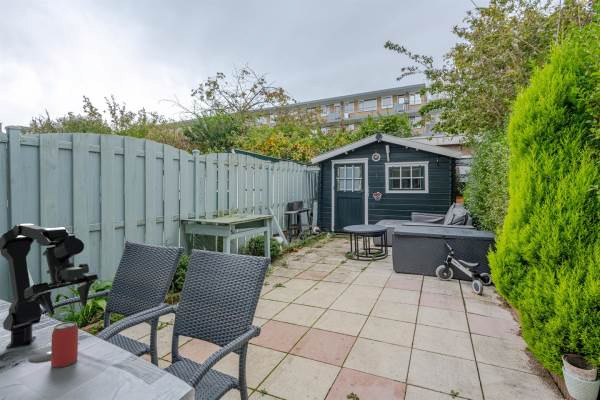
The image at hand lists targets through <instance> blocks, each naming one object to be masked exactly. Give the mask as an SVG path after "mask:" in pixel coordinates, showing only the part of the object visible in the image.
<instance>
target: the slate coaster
mask: <svg viewBox="0 0 600 400" xmlns="http://www.w3.org/2000/svg"><path fill="white" fill-rule="evenodd" d="M51 347H52V345H48V346H44V347H40V348H39V349H36V350H35V351H34V350H33V352H31V353H30V354H29V355H28V361H29V362H32V363H40V362H41V363H42V362H47V361H51Z"/></svg>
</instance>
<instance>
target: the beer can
mask: <svg viewBox="0 0 600 400" xmlns="http://www.w3.org/2000/svg"><path fill="white" fill-rule="evenodd" d="M52 330H53V331H52V332H51V346H52V347H51V360H50V366H52V368H63V367H68V366H70V365H72V364H73V363H75V362H76V361H77V360H78V351H79V350H78V349H79V327H78V325H77V322H76V321H65V322H61V323H58V324H57V325H55V326H54V327H53V329H52Z"/></svg>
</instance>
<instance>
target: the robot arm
mask: <svg viewBox="0 0 600 400" xmlns="http://www.w3.org/2000/svg"><path fill="white" fill-rule="evenodd" d="M35 240H36V243H37V244H39V245H40V246H41V247H46V248H45V250H44V251H43V253H42V256H44V257H45V258H46V262H47V266H48V267H47V269H48V270H46V274H47V275H49V277H50V282H49V283H48V282H47V281H46V282H42V283H37V284H33V285H31V283H30V282H31V281H30V275H29V268H28V263H27V256H29V255H28V254H29V253H30V252H31V250H32V244H33V243H34V241H35ZM84 249H85V243H84V242H83V241H82V240H81V238H78V237H76V235H75V234H71V233H70V232H69V231H68V230H67V228H65V227H52V228H51V227H49V228H48V227H44V226H40V225H36V224H34V223H18V224H15V225H14V226H13V228H12V229H10V230H8V231H6V232H5V233H3V234H1V237H0V254H1V256H2V257H3V258H4V259H6V261H8V269H9V277H10V283H11V290H12V296H13V301H12V303H11V304H10V306H9V308H8V314H7V316H6V317H5V319H4V321H3V322H2V326H3V327H2V328H3V329H4V330H5V331H9V332H10V342H9V343H8V344H7V345H6V346H5V348H6V349H11V348H19V347H23V346H29V345H31V344H32V343H33V342H34V340H35V339H37V336H36V335H35V336H33V325H35V324H39V323H40V322H41V317H42V313H43V310H42V307H43V308H44V309H45V310H44V311H46V312H47V313H48V314H49V315H50V316H54V315H55V309H54V305H53V301H52V291H53V290H58V289H61V288H62V289H63V288H67V287H71V286H74V285H77V286H78V287H76V290H77V292H78V296H79V299H80V303H81V305H82V307H86V306H87V303H88V296H89V292H90V289H91V287H92V285H93V284H95V283H96V281H99V276H98V274H97V273H95V272H91V273H89V272H90V268H89V264H88V263H87V262H86V263H81V264H78V266H75V264H74V263H73V262H71V261H70V260H71V259H73V258H74V257H75V256H78V255H79V254H81V253H82V252H83V251H84ZM41 306H42V307H41Z"/></svg>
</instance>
